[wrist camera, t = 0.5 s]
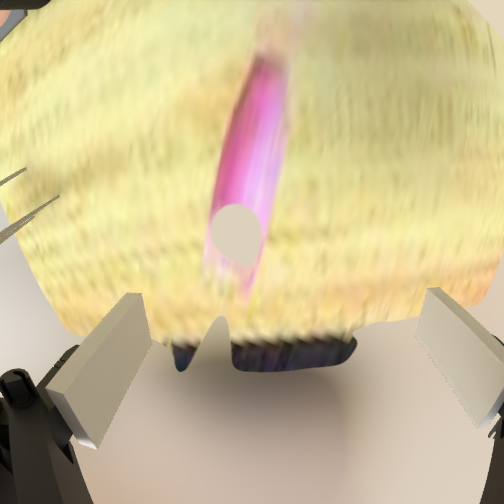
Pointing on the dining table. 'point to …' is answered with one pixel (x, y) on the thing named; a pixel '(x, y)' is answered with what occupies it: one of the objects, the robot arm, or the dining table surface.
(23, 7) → the pen holder
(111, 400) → the robot arm
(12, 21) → the coaster mat
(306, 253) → the dining table surface
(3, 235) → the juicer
